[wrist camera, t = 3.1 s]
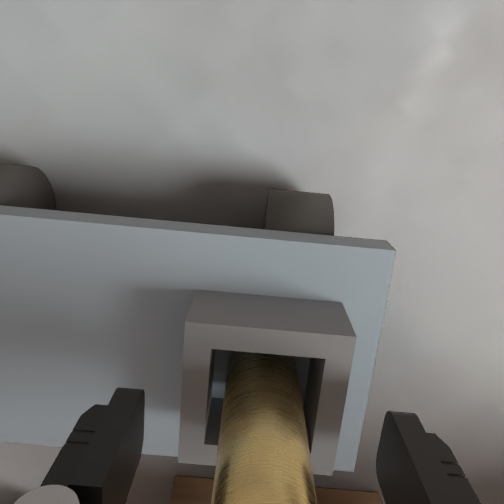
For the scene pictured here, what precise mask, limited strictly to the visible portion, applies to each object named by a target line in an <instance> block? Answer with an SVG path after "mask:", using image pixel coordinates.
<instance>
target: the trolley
mask: <svg viewBox="0 0 504 504" xmlns="http://www.w3.org/2000/svg"><path fill="white" fill-rule="evenodd" d="M395 255H396V250H395V249H394V248H393V247H392V246H391V245H390V243H389V242H388V241H385V240H374V239H363V238H352V237H341V236H334V210H333V203H332V199H331V196H330V195H329V194H320V193H310V192H299V191H288V190H277V189H269V192H268V198H267V206H266V213H265V222H264V229H254V228H243V227H232V226H221V225H210V224H199V223H188V222H177V221H166V220H155V219H144V218H133V217H122V216H112V215H101V214H90V213H79V212H68V211H57V210H56V204H55V198H54V194H53V190H52V187H51V184H50V182H49V180H48V178H47V177H46V175H45V174H44V173H43V172H42V171H41V170H40V169H38V168H36V167H29V166H18V165H7V164H0V442H7V443H19V444H30V445H42V446H54V447H63V446H64V444H66V440H67V439H68V437H69V435H70V433H71V432H72V431H73V428H74V426H75V425H76V423H77V421H78V419H79V418H80V416H81V415H82V414H83V413H85V412H86V411H87V410H88V409H90V408H91V407H92V406H93V405H95V404H99V405H108V404H109V402H110V400H111V398H112V396H113V394H114V392H115V390H116V388H118V387H120V388H132V389H143V390H144V392H145V410H144V440H143V447H142V452H141V454H148V455H160V456H172V457H178V463H185V464H197V465H209V466H216V458H217V450H218V442H219V434H220V425H221V417H222V409H223V400H224V392H225V384H226V376H227V367H228V359H229V353H230V351H241V352H253V353H264V354H275V355H287V356H296V362H297V369H298V376H299V383H300V390H301V396H302V403H303V410H304V417H305V424H306V431H307V437H308V444H309V451H310V458H311V465H312V472H313V474H316V475H328V476H332V475H333V470H338V471H349V472H354V469H355V463H356V458H357V453H358V448H359V443H360V437H361V432H362V427H363V422H364V417H365V411H366V406H367V401H368V396H369V391H370V385H371V380H372V375H373V370H374V365H375V359H376V354H377V349H378V344H379V339H380V333H381V328H382V323H383V318H384V313H385V307H386V302H387V297H388V292H389V287H390V281H391V276H392V271H393V266H394V261H395Z"/></svg>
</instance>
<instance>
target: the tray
mask: <svg viewBox="0 0 504 504" xmlns="http://www.w3.org/2000/svg"><path fill="white" fill-rule="evenodd" d="M213 483H214V479H210V478H198V477H186V476H175V480H174V484H173V489H172V493H171V498H170V502H169V504H211V500H212V491H213ZM315 492H316V499H317V504H382V500H381V497H380V494H379V493H376V492H365V491H353V490H341V489H329V488H317V487H315Z"/></svg>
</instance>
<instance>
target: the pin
mask: <svg viewBox="0 0 504 504" xmlns="http://www.w3.org/2000/svg"><path fill="white" fill-rule="evenodd" d="M211 504H317V499H316V492H315V485H314V478H313V472H312V465H311V458H310V451H309V444H308V437H307V431H306V424H305V417H304V410H303V403H302V396H301V390H300V383H299V376H298V369H297V362H296V356H287V355H275V354H264V353H253V352H241V351H230V353H229V359H228V367H227V376H226V384H225V392H224V400H223V409H222V417H221V425H220V434H219V442H218V450H217V458H216V467H215V475H214V483H213V491H212V500H211Z"/></svg>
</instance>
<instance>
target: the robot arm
mask: <svg viewBox="0 0 504 504" xmlns="http://www.w3.org/2000/svg"><path fill="white" fill-rule="evenodd" d="M144 410H145V392H144V390H143V389H132V388H120V387H118V388H116V390H115V392H114V394H113V396H112V398H111V400H110V402H109V404H108V405H99V404H95V405H93V406H92V407H91V408H90V409H88V410H87V411H86V412H85V413H83V414H82V415H81V416H80V418H79V419H78V421H77V423H76V425H75V426H74V428H73V431H72V432H71V433H70V435H69V437H68V439H67V440H66V444H64V446H63V447H62V449H61V451H60V452H59V454H58V456H57V458H56V459H55V461H54V463H53V465H52V466H51V468H50V470H49V472H48V473H47V475H46V477H45V479H44V480H43V482H42V484H41V486H40V487H38V488H35V489H33V490H31V491H29V492H27V493H26V494H24V495H23V496H21V497H20V498H19V499H18V500H17V501H16V502H15V503H14V504H125V502H126V499H127V496H128V493H129V490H130V487H131V484H132V481H133V478H134V475H135V472H136V469H137V466H138V463H139V460H140V456H141V452H142V447H143V440H144ZM376 471H377V478H378V481H379V485H380V488H381V491H382V494H383V497H384V500H385V503H386V504H481V503H480V501H479V499H478V498H477V496H476V494H475V492H474V490H473V489H472V487H471V485H470V483H469V482H468V480H467V478H465V474H464V473H463V471H462V469H461V467H460V465H458V462H457V460H456V458H455V457H454V455H453V453H452V451H451V449H450V448H449V447H448V446H447V445H446V444H445V443H444V442H443V441H442V440H441V439H440V438H439V437H438V436H437V435H436V434H433V433H426V432H425V430H424V428H423V426H422V424H421V422H420V420H419V418H418V417H417V415H416V414H415V413H405V412H393V411H388V412H387V413H386V415H385V418H384V423H383V428H382V433H381V438H380V442H379V447H378V452H377V458H376Z"/></svg>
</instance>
